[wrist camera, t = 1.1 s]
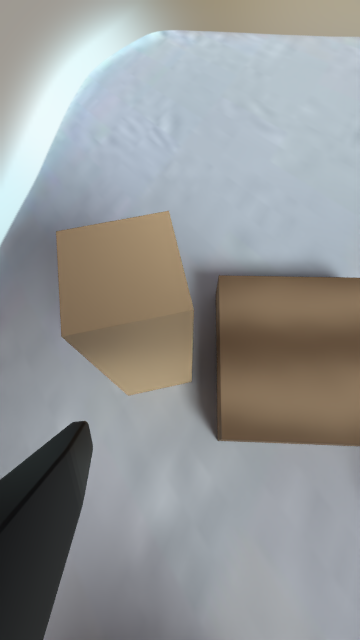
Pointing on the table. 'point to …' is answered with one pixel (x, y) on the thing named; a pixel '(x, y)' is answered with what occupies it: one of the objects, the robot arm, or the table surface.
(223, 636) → the table surface
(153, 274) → the kraft carton
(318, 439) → the walnut podium
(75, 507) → the robot arm
